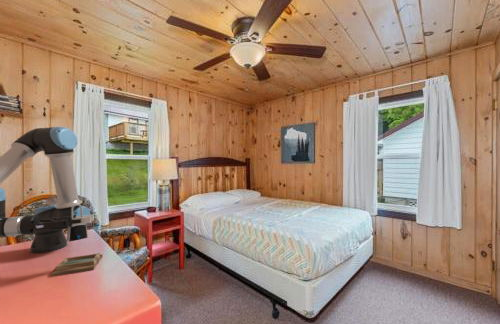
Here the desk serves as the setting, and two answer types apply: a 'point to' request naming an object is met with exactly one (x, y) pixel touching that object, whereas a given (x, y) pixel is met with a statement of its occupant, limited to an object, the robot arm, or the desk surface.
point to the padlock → (77, 228)
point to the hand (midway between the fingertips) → (91, 218)
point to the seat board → (77, 264)
